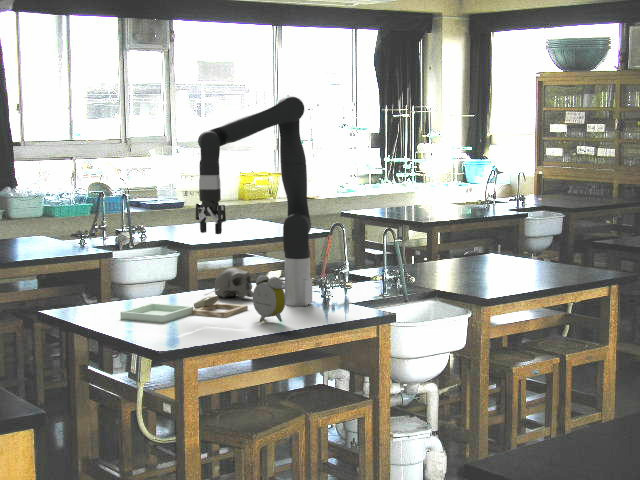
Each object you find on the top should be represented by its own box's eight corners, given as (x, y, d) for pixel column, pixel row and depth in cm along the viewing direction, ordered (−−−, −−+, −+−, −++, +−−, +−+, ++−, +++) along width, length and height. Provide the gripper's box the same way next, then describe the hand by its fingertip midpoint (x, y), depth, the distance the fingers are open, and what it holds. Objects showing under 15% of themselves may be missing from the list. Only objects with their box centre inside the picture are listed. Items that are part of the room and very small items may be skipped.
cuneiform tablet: (205, 294, 361) (189, 299, 370) (210, 306, 361) (193, 310, 371) (222, 287, 365) (205, 292, 375) (226, 299, 365) (209, 304, 375)
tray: (193, 313, 360) (193, 306, 360) (163, 323, 343) (163, 315, 343) (151, 310, 367) (151, 303, 367) (120, 319, 350) (120, 311, 350)
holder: (247, 309, 368) (247, 305, 368) (225, 317, 354) (225, 312, 353) (215, 307, 373) (215, 303, 373) (192, 314, 359) (192, 310, 359)
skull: (240, 302, 383) (240, 271, 382) (208, 297, 395) (207, 267, 394) (262, 299, 392) (262, 268, 390) (230, 294, 404) (230, 264, 403)
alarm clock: (286, 321, 345) (286, 277, 344) (271, 324, 341) (271, 279, 339) (263, 317, 354) (263, 273, 352) (248, 319, 349) (247, 275, 347)
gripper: (230, 188, 366) (231, 233, 368) (205, 186, 377) (206, 231, 378) (214, 189, 361) (215, 235, 363) (189, 187, 371) (190, 232, 373)
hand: (210, 233), depth 371 cm, fingers open, 8 cm apart
